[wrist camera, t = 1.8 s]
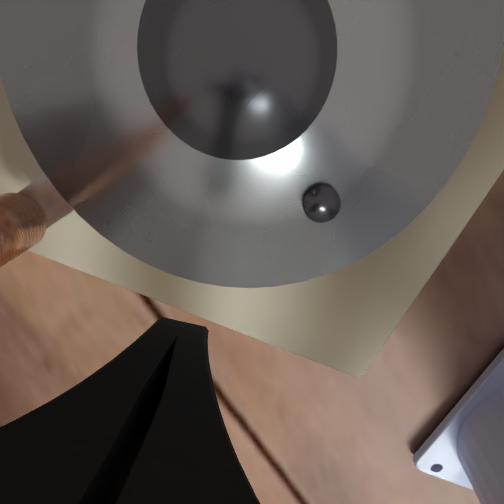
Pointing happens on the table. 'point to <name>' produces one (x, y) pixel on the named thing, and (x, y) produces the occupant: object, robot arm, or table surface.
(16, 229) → the grey turntable
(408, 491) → the table surface
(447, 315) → the table surface
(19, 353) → the table surface
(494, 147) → the post base
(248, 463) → the table surface
